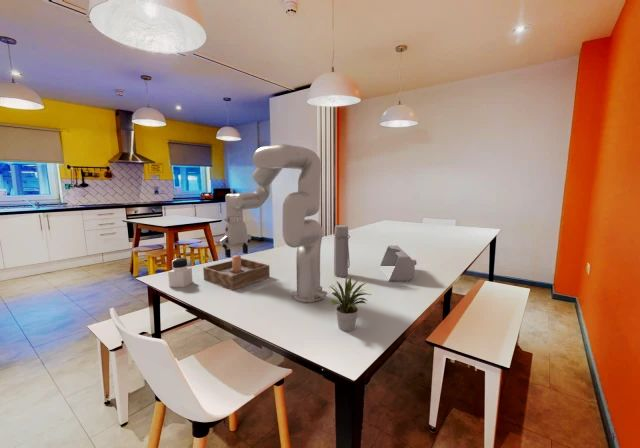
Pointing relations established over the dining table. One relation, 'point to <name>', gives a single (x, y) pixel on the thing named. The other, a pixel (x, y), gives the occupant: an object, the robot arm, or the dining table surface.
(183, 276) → the medicine bottle
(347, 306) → the house plant
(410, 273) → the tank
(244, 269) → the bore plate
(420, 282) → the dining table surface
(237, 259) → the peg
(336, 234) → the water bottle
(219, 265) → the open box
